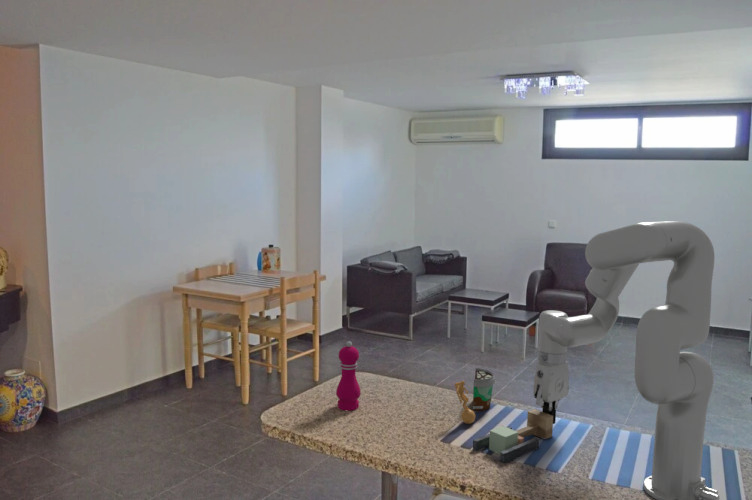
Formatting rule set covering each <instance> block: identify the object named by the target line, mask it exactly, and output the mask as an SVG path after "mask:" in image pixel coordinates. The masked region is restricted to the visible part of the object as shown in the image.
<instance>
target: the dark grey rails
mask: <svg viewBox="0 0 752 500" xmlns="http://www.w3.org/2000/svg"><path fill="white" fill-rule="evenodd" d="M506 427H507V428H509V429H512V430H513V427H511V426H506ZM489 437H490V433H488V434H485V435H482V436H480V437H477V438H475V439H472V450H473V451H476V452H477V451H480V450H483V449H485V448H487V447H488V448H489ZM540 439H541V438H538V437H533V438H531V439H528V440H526V441H524V442H523V443H521V444H519V445H516V446H514V447H511V448H509V449H506V450H504V451H502V452H500V454H499V463H501V464H507V463H509V462H511V461H513V460H516V459H517V458H520V457H522V456H525V455H528V454H530V453H532V452H534V451H536V450H539V449H540Z"/></svg>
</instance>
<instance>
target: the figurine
mask: <svg viewBox="0 0 752 500" xmlns="http://www.w3.org/2000/svg"><path fill="white" fill-rule="evenodd" d="M464 385H466V383H465V381H464V380H462V381H460V382H459V381H457V382H455V384H454V388H455V390H456V395H457V397H458V400H459V403H460V404H462V407H463V410H462V412H461V413H460V418H461V421H462V422H463V423H464V424H466V425H467V424H468V425H470V424H473V423H474V422H475V419H476V414H475V411H473V409H470V408H469V407H468V406H467V404H468V402H469V401H470V399H469V397H468V396H467V395H468V394H469V392H468V390H467V389H466V388H465V386H464ZM464 391H465V392H464ZM466 394H467V395H466Z"/></svg>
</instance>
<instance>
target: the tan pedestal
mask: <svg viewBox="0 0 752 500" xmlns="http://www.w3.org/2000/svg"><path fill="white" fill-rule="evenodd" d="M526 415H527V419H526V421H527V422H526V426H525V427H522V428H519V429H517V430H516V431H517V432H518V445H519V444H521V443H523V442H525V438H526V437H528V436H531V435H533V436H536V437H537V438H538V437H539V438H540V439H541V438H542V439H544V440H547V439H550V438H552V437H553V427H554V424H553V416H552V415H550V414H547V413H544V412H542V411H540V410H538V409H535V408H534V409H531V410H529V411H527V414H526Z"/></svg>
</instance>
